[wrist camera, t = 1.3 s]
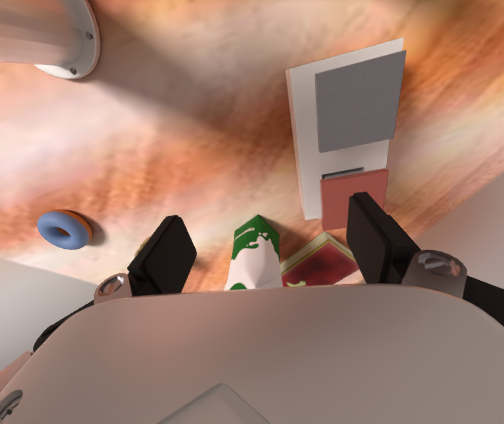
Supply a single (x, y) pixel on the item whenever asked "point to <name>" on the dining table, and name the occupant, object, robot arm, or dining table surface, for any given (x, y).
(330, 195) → the red square push button
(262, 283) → the milk carton
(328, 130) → the grey square push button
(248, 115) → the dining table surface
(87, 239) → the doughnut
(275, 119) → the dining table surface
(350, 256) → the hardcover book
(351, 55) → the white button box
